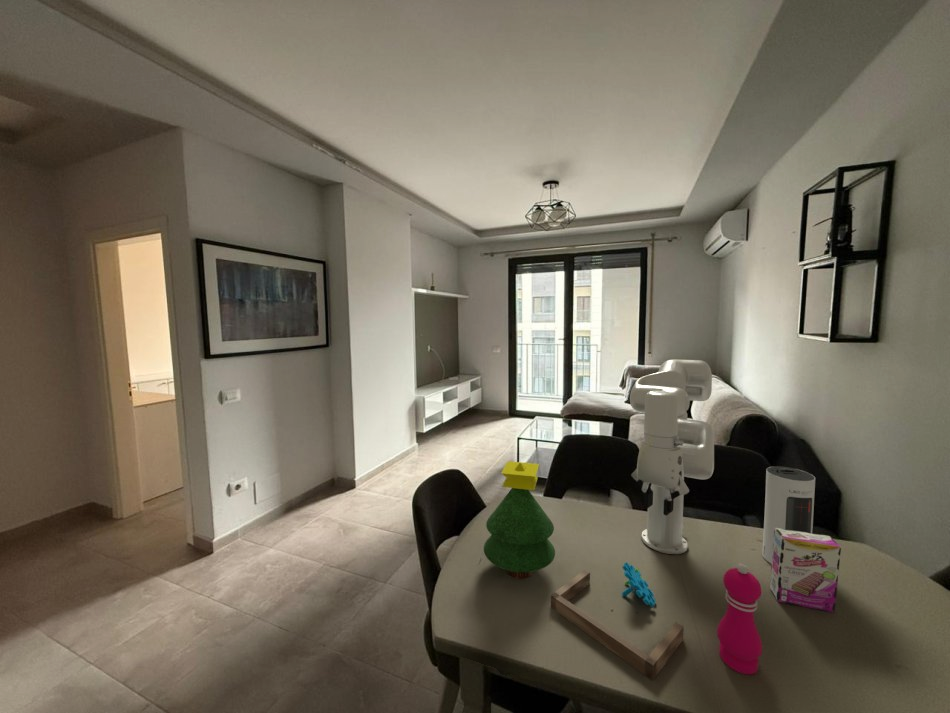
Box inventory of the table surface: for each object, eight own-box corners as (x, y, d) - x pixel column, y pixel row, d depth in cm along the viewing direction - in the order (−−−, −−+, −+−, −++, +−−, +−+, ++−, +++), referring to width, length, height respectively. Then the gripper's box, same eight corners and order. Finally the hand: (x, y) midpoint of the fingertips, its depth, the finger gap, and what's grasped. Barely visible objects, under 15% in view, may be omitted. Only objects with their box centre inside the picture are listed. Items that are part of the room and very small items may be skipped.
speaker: (768, 568, 101) (773, 475, 99) (755, 547, 110) (760, 462, 108) (817, 578, 97) (824, 481, 95) (800, 555, 107) (806, 467, 104)
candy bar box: (777, 603, 88) (781, 537, 87) (769, 589, 93) (772, 526, 92) (837, 614, 85) (842, 546, 83) (824, 599, 89) (829, 534, 88)
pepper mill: (707, 646, 77) (712, 554, 75) (740, 643, 77) (745, 552, 76) (735, 679, 70) (740, 578, 68) (770, 675, 70) (777, 575, 69)
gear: (659, 612, 84) (626, 572, 87) (638, 625, 85) (607, 586, 88) (656, 587, 94) (627, 552, 97) (638, 599, 95) (609, 565, 98)
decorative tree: (475, 587, 94) (474, 473, 92) (492, 544, 113) (491, 448, 110) (552, 602, 89) (553, 481, 87) (556, 554, 108) (557, 454, 105)
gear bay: (584, 580, 97) (584, 569, 97) (683, 639, 78) (683, 626, 78) (550, 607, 88) (550, 595, 88) (652, 680, 69) (653, 665, 69)
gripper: (702, 445, 89) (699, 517, 91) (635, 430, 102) (633, 494, 104) (690, 452, 85) (687, 528, 86) (621, 435, 97) (619, 502, 99)
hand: (657, 509), depth 95 cm, fingers open, 4 cm apart
